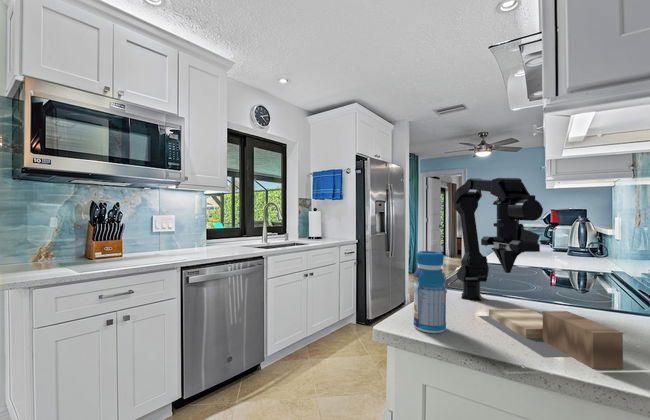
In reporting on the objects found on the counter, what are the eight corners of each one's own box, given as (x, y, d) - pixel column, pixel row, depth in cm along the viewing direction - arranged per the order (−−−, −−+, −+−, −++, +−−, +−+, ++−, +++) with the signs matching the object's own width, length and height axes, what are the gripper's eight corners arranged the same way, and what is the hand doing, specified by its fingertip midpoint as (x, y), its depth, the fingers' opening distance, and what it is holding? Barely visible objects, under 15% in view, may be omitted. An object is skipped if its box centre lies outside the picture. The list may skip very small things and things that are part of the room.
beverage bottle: (429, 336, 75) (430, 255, 75) (406, 325, 82) (406, 251, 82) (453, 331, 78) (454, 253, 79) (429, 320, 86) (429, 249, 86)
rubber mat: (477, 317, 89) (477, 316, 89) (527, 316, 90) (527, 315, 90) (543, 358, 64) (543, 356, 64) (612, 357, 64) (612, 356, 64)
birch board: (488, 316, 89) (488, 308, 89) (528, 316, 89) (528, 308, 89) (525, 338, 73) (525, 329, 73) (573, 337, 74) (573, 328, 74)
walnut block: (542, 311, 72) (593, 332, 59) (567, 311, 72) (622, 332, 59) (542, 340, 72) (593, 368, 59) (567, 340, 72) (622, 368, 59)
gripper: (559, 221, 81) (559, 279, 81) (513, 219, 100) (513, 267, 99) (518, 220, 81) (518, 279, 80) (480, 219, 99) (480, 267, 99)
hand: (507, 272), depth 90 cm, fingers closed
